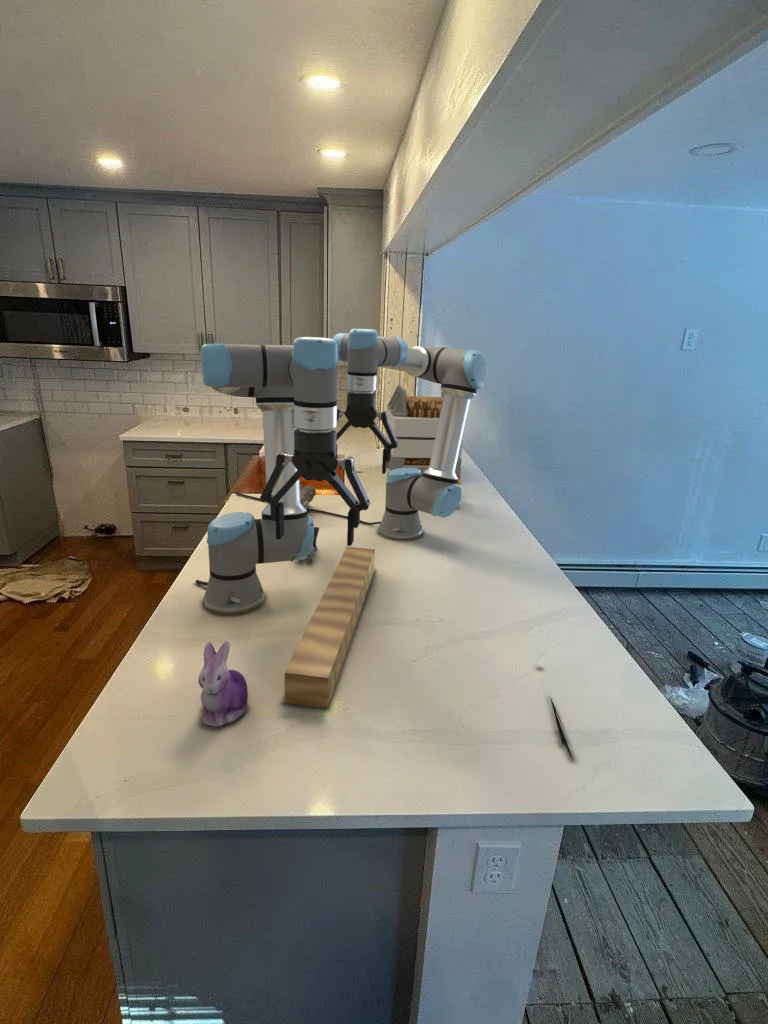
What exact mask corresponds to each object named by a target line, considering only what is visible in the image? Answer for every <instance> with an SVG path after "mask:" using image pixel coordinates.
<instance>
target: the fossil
mask: <svg viewBox="0 0 768 1024" xmlns="http://www.w3.org/2000/svg"><path fill="white" fill-rule="evenodd" d="M316 492H317V491H316V487H315V486H313V485H311V484H307V485H305V486H304V485H303V484H302V485H300V503H301V505H302V506H303V507H305V508H306V509H307V508H308V507H307V506H308V505H309V504H310V503H311V502H312V501H313V500H314V497H316V496H317V493H316ZM309 512H310V510H308V509H307V513H309Z"/></svg>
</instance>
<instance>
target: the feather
mask: <svg viewBox="0 0 768 1024" xmlns="http://www.w3.org/2000/svg"><path fill="white" fill-rule="evenodd" d="M539 669H541V666H540V667H539ZM549 697H550V702H551V706H552V710H553V714H554V718H555V722H556V726H557V729H558V732H559V737H560V740H561V744H562V745H564V746H565V748H566V750H567V751H568V753H569V755H570V757H571V758H573V756H572V753H571V750H570V748H569V745H570V747H572V744H571V740H569V741H568V742H567V740H566V739H567V738H569V735H567V732H566V727H564V723H563V721H562V720H561V717H560V715H559V713H558V710H557V708H556V706H555V704H554V702H553V699H552V697H551V696H549ZM566 735H567V738H566ZM568 743H569V744H568Z"/></svg>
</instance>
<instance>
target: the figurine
mask: <svg viewBox="0 0 768 1024" xmlns="http://www.w3.org/2000/svg"><path fill="white" fill-rule="evenodd" d="M230 649H231V643H230V641H229V640H226V641H224V642H223V643H222V645H221V646H220V647H219V649H218V650H217V651H216V650H215V647H214V645H213V643H212V642H207V643H205V646H204V649H203V666H202V668H201V670H200V672H199V675H198V685H199V687H201V689H202V690H201V692H200V702H201V705H202V708H203V718H202V722H203V724H204V725H206V726H211V727H214V728H215V727H221V726H223V725H224V724H230V723H233V722H235V721H236V720H237V719H239V718H240V717H241V716H242V715H244V714H245V713H246V711H247V708H248V698H249V691H248V684H247V683H248V682H247V680H246V679H245V676H244V675H243V674H242V673H241V672H240V671H238V670H235V669H229V668H228V667H227V660H228V657H229V653H230Z"/></svg>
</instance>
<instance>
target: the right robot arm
mask: <svg viewBox="0 0 768 1024" xmlns="http://www.w3.org/2000/svg"><path fill="white" fill-rule="evenodd" d="M332 339H333V340H335V341H336V343H337V354H338V359H339V361H342V362H345V363H346V362H347V374H346V375H347V376H346V377H347V378H346V389H347V393H346V409H341V408H340V407H337V423H338V422H339V420H340V418H343V417H344V416H345V417H346V419H347V421H346V423H345V424H344V425H343V426H342V427H341V428H340V429H339V430H338V431H337V437H336V442H337V441H339V439H340V438H341V437H342V436H343V434H344V433H345V432H346V431H348V429H349V428H350V427H351V426H352V427H353V428H361V429H367V428H369V429H370V431H371V432H372V433H373V434H374V435H375V436H376V438H377V439H378V440H379V442H380V443H381V445H383V450H382V462H381V463H382V464H381V465H382V467H381V470H382V471H381V474H382V475H385V474H386V472H387V466H386V462H387V461H390V459H391V449H393V448H397V446H398V442H397V440H396V437H395V435H394V433H393V430H392V428H391V426H390V424H389V421H388V416H387V410H384V411H377V410H376V405H377V404H376V402H377V394H376V392H375V391H377V378H378V377H377V376H378V373H377V372H378V368H381V369H388V370H394V371H400V372H405V373H407V375H409V376H410V377H414V378H418V379H421V380H425V381H428V382H431V383H435V384H439V385H440V390H441V392H443V394H444V397H443V402H442V407H441V412H440V417H439V421H438V426H437V431H436V436H435V441H434V446H433V451H432V456H431V460H430V465H428V468H426V469H425V470H423V472H422V470H421V469H420V468H416V467H404V468H398V469H394V470H391V471H390V470H388V472H387V475H386V480H385V481H386V482H385V504H384V505H385V507H384V508H385V509H384V513H383V515H382V519H381V521H374V522H368V521H364V520H361V519H360V524H364V525H367V526H368V525H369V526H373V525H379V526H378V533H379V534H380V535H381V536H382V537H385V538H387V539H389V540H395V541H410V540H415V539H418V538H420V537H421V536H422V535H423V525H422V524H421V518H420V515H419V512H422V513H426V514H429V515H432V516H433V517H440V518H448V517H450V516H452V515H453V514H454V512H456V511H457V509H458V508H459V505H460V503H461V501H462V498H463V497H462V496H463V492H462V491H463V490H462V487H461V486H460V485H458V484H457V481H458V477H457V476H456V474H455V469H456V464H457V459H458V455H459V450H460V445H461V440H462V441H463V438H462V436H463V437H464V432H463V431H465V426H466V421H467V416H468V412H469V407H470V403H471V400H472V399H474V397H476V396H477V393H478V390H481V389H483V388H484V387H485V385H486V384H487V381H488V376H489V366H488V362H487V358H486V357H485V355H484V353H482V352H481V351H479V350H474V349H471V348H470V349H469V348H457V347H455V348H454V347H445V346H430V347H427V346H420V345H415V346H412V347H410V346H408V343H407V342H406V340H405V339H403V338H402V337H400V336H382V335H379V331H377V329H372V328H351V329H350V330H349V331H348V332H343V333H342V332H341V333H340V332H339V333H337V334H335V335H334V336H333V337H332ZM377 418H378V420H379V421H381V423H382V425H383V428H384V430H385V433H386V432H387V434H388V437H389V439H390V441H391V444H390V443H389V441H388V440H387V439H386V435H384V433H383V432H382V431H381V429H380V428H379V427H378V425H377V423H376V422H375V420H376V419H377ZM384 447H385V448H384ZM336 454H337V455H338V444H337V443H336ZM337 468H338V466H337V467H336V468H335V469H334V470H335V471H336V470H337ZM235 495H238V496H241V497H246V498H249V499H254V500H257V501H261V500H260V497H256V496H252V495H248V494H244V493H241V492H235ZM457 507H458V508H457ZM306 508H307V509H308V510H309V511H312V512H316V513H321V514H322V513H323V514H327V515H331V516H336V517H339V518H344V519H348V515H344V514H339V513H334V512H330V511H326V510H320V509H315V508H310V507H306Z"/></svg>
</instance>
